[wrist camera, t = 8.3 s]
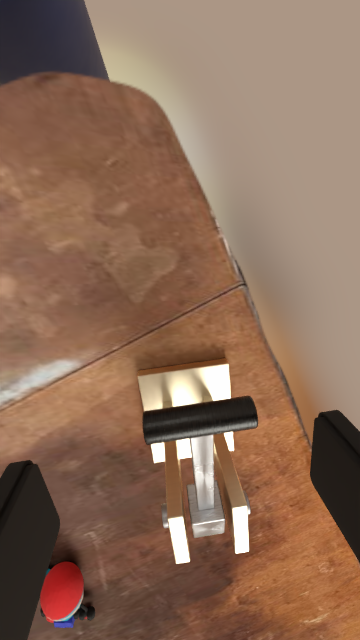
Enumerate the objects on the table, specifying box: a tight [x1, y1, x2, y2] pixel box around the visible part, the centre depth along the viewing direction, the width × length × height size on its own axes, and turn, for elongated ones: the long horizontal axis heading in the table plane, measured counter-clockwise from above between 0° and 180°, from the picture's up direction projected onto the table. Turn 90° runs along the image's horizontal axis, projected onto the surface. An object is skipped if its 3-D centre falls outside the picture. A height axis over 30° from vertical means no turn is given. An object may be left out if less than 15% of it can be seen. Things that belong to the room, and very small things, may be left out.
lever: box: [143, 396, 258, 538], centre depth 16 cm, size 13×5×2 cm, turn 7°
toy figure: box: [40, 561, 95, 628], centre depth 36 cm, size 8×5×15 cm
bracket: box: [137, 358, 251, 564], centre depth 24 cm, size 11×9×13 cm
